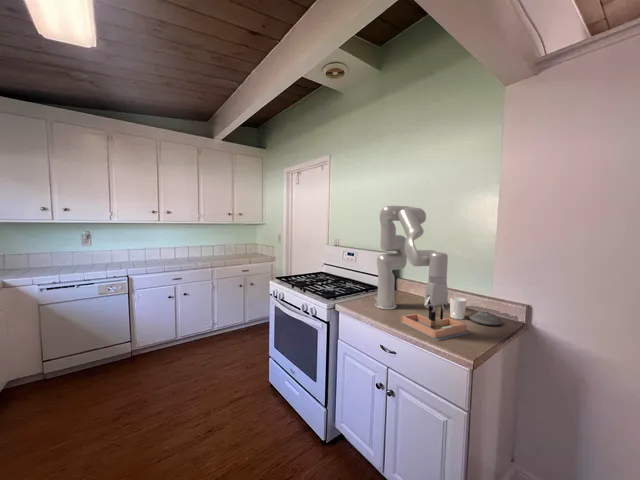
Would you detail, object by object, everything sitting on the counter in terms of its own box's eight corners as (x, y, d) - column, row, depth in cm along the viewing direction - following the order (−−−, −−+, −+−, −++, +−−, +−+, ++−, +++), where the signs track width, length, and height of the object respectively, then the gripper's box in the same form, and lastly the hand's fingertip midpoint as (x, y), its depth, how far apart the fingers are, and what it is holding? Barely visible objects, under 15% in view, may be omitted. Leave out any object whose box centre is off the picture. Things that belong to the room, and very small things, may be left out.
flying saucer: (471, 314, 155) (472, 305, 154) (503, 321, 145) (504, 311, 145) (465, 322, 143) (465, 311, 143) (499, 330, 134) (500, 318, 133)
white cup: (463, 315, 153) (464, 297, 152) (467, 320, 145) (468, 301, 144) (447, 314, 155) (448, 296, 154) (450, 318, 147) (451, 300, 146)
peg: (428, 327, 129) (429, 301, 128) (434, 325, 130) (436, 300, 129) (435, 330, 125) (436, 303, 124) (441, 328, 127) (443, 302, 126)
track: (400, 322, 140) (400, 315, 140) (429, 317, 149) (430, 310, 148) (437, 341, 119) (438, 332, 119) (469, 333, 128) (469, 325, 128)
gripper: (443, 276, 133) (442, 314, 134) (417, 279, 126) (415, 319, 127) (457, 280, 126) (455, 319, 128) (430, 283, 119) (428, 324, 120)
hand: (435, 318), depth 127 cm, fingers closed on peg, 4 cm apart
